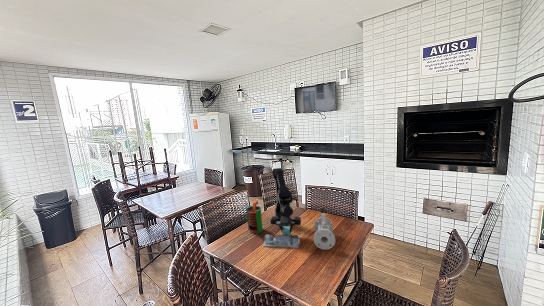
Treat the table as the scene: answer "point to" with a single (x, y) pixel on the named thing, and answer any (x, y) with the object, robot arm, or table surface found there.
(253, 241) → the table surface
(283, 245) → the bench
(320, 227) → the valve
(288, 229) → the coupler
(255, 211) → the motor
